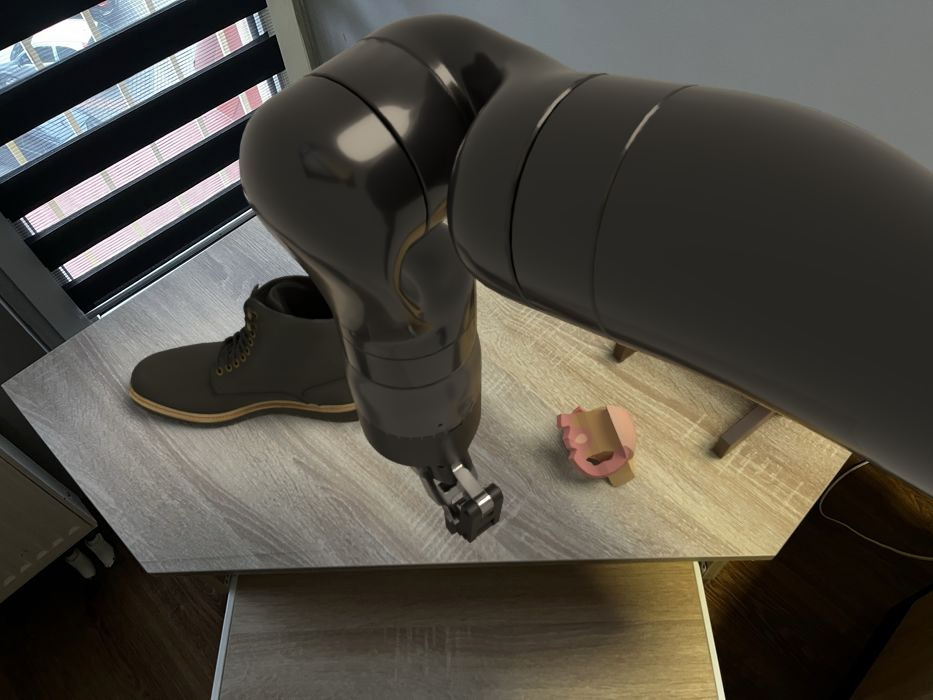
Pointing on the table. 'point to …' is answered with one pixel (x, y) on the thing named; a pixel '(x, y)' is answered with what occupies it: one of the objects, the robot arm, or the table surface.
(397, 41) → the robot arm
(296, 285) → the boot
